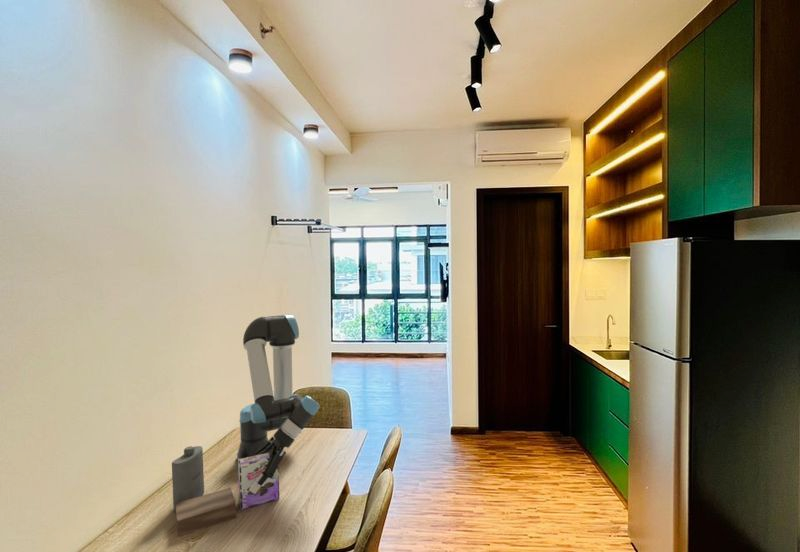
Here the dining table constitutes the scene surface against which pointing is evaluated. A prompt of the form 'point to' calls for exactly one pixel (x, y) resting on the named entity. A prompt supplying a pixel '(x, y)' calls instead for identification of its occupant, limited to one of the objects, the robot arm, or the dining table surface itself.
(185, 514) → the walnut plinth
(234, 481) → the dining table surface
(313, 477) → the dining table surface
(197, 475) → the flask
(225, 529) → the dining table surface
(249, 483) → the candy box
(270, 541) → the dining table surface
